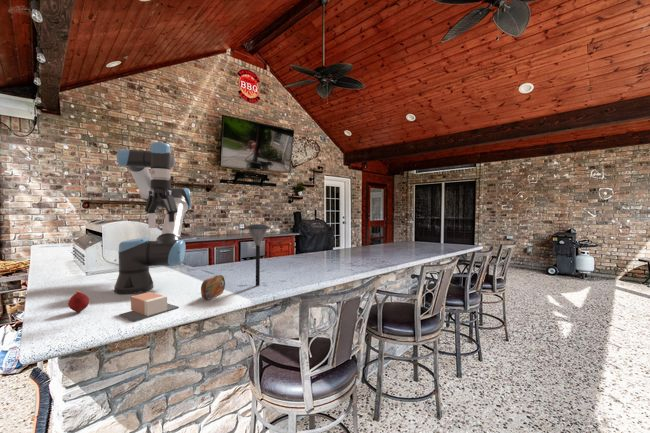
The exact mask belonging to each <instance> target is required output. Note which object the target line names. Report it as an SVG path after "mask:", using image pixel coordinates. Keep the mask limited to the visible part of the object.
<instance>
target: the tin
mask: <svg viewBox="0 0 650 433" xmlns="http://www.w3.org/2000/svg"><path fill="white" fill-rule="evenodd" d="M225 286H226V280H225V278H224V276H223V275H221V274H218V275H214V276H210V277H208V278H207V279H204V280H203V282H202V284H201V286H200V294H201V297H202V298H203V300H204V299H205V300H213V299H215V298H216V297H217V296H220V295H221V294H223V292H224V290H225ZM212 298H213V299H212Z"/></svg>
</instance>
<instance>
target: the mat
mask: <svg viewBox="0 0 650 433" xmlns="http://www.w3.org/2000/svg"><path fill="white" fill-rule="evenodd" d="M179 308H180V307H179V306H177V305H174V304H171V303H168V302H167V310H166V311H163V312H159V313H156V314H153V315H149V316H146V315H143V314H141V313H138V312H135V311H132V310H130V311H126V312H123V313H119V314H118V316H119V317H121V318H123V319H127V320H129V321H131V322H137V321H141V320H145V319H148V318H151V317H154V316H157V315H161V314H163V313H167V312H170V311H173V310H177V309H179Z"/></svg>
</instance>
